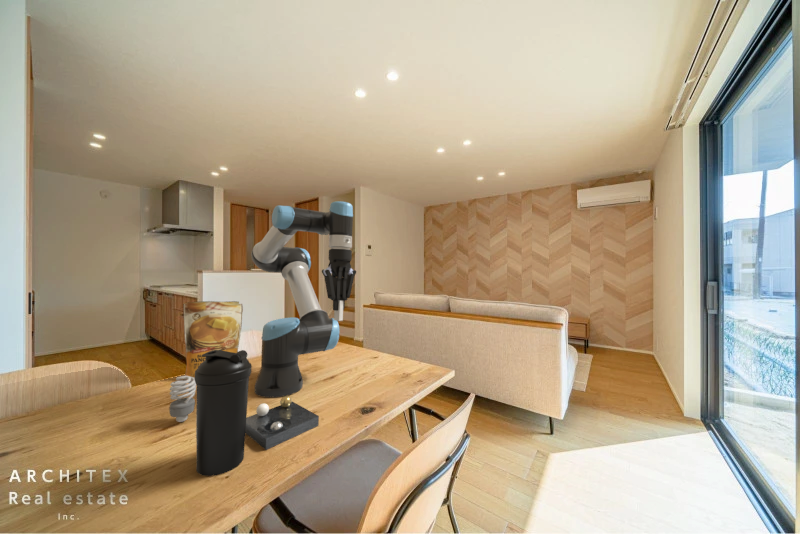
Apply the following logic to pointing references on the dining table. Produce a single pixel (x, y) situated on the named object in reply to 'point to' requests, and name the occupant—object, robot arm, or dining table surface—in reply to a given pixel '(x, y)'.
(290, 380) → the robot arm
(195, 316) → the pancake mix bag
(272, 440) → the plate
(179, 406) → the light bulb
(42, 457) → the dining table surface
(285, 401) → the brass ball
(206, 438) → the water bottle
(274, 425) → the steel ball
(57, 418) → the dining table surface
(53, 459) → the dining table surface
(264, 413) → the white plastic ball
